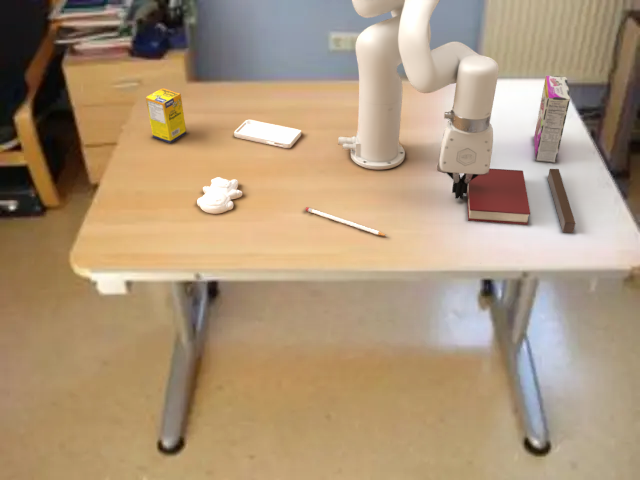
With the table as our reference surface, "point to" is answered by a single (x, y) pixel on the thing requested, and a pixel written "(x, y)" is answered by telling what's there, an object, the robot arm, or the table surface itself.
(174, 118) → the supplement box
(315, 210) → the pencil
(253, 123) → the phone case
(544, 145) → the candy bar box
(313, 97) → the table surface
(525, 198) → the book
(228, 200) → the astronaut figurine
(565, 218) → the rail
